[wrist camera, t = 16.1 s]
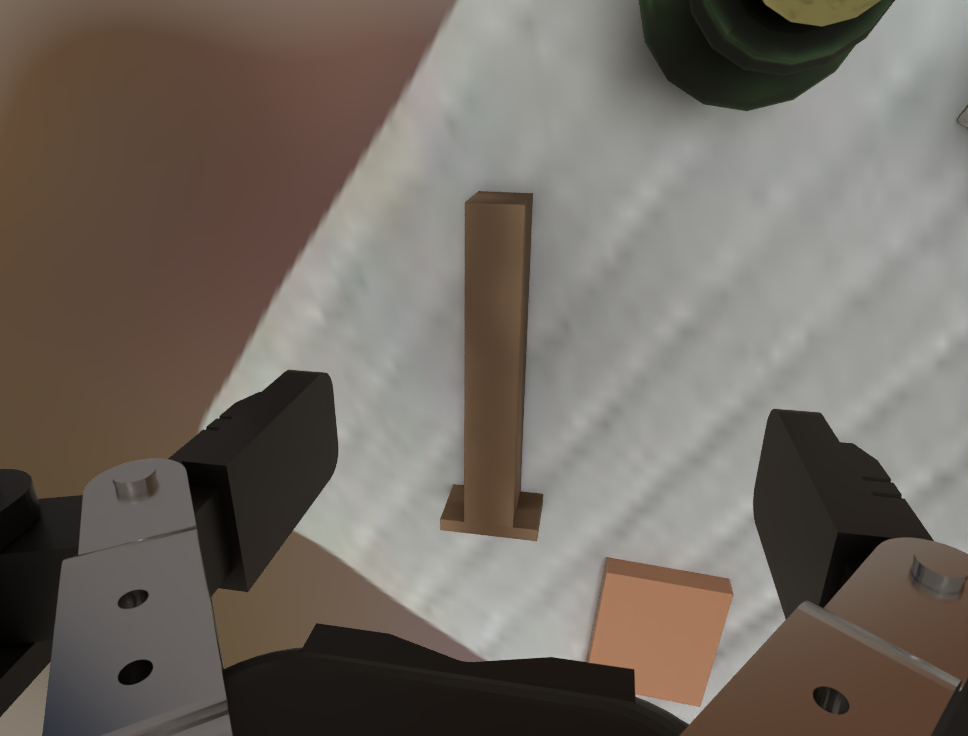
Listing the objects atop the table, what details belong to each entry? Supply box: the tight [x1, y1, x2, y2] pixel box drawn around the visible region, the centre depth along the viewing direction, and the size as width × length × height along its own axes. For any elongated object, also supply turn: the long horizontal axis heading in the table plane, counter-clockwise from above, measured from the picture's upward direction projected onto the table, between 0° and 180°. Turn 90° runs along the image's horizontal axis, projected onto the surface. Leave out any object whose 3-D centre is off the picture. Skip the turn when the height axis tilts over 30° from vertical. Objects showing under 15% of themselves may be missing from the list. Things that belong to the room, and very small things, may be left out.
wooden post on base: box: [440, 191, 543, 541], centre depth 39 cm, size 6×20×4 cm, turn 179°
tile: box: [586, 557, 733, 707], centre depth 46 cm, size 8×2×10 cm
